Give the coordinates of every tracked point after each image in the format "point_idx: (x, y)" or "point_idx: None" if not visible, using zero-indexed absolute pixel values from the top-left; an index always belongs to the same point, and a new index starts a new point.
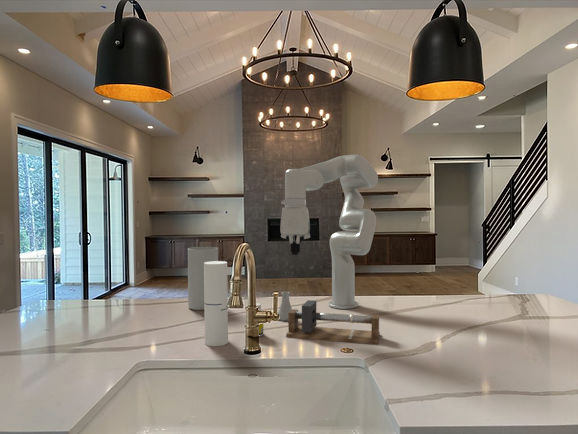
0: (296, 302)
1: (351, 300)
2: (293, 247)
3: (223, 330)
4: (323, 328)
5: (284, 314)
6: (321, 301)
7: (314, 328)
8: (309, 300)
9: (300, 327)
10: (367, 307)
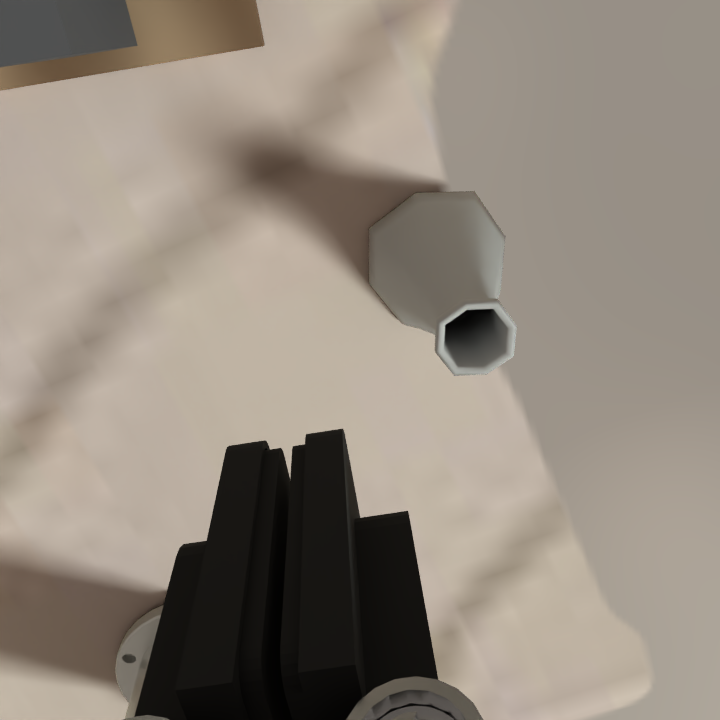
0: (518, 626)
1: (136, 680)
2: (302, 565)
3: None
4: None
5: (428, 218)
6: None
7: None
8: (48, 49)
9: (189, 4)
10: (67, 679)
